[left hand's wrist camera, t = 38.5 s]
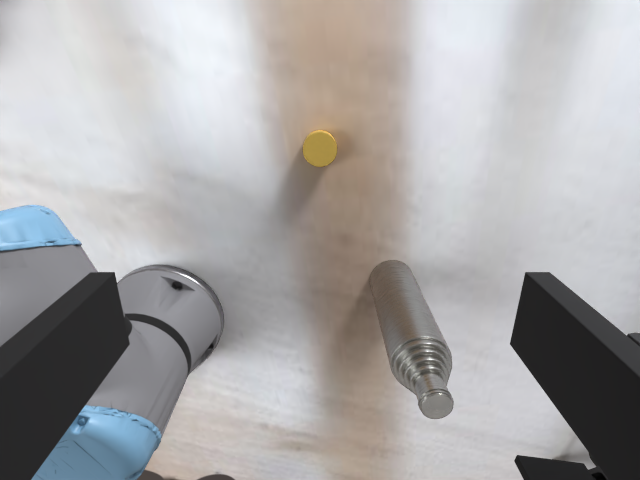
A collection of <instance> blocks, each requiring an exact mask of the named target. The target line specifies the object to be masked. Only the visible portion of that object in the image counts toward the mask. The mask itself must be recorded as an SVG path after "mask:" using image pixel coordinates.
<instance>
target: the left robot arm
mask: <svg viewBox="0 0 640 480" xmlns="http://www.w3.org/2000/svg"><path fill="white" fill-rule="evenodd" d="M81 245H82V244H81V242H80V241H79V240H77V239H75V238H74V237H73V235H72V234H71V233H70V231H69V230H68V229H67V227H66V226H65V225H64V223H63V222H62V221H61V219H60V218H59V217H58V215H57V214H56V213H55V212H53V211H52V210H50V209H49V208H46V207H44V206H39V205H26V206H21V207H16V208H12V209H7V210H3V211H0V480H137V479H138V477H139V476H140V475H141V474H142V472H143V471H144V469H145V467H146V465H147V464H148V462H149V460H150V458H151V456H152V454H153V452H154V451H155V450H156V449H157V448H158V446H159V444H160V442H161V438H162V436H163V433H164V431H165V429H166V426H167V424H168V421H169V419H170V417H171V414H172V412H173V410H174V407H175V405H176V403H177V400H178V398H179V396H180V393H181V391H182V389H183V386H184V384H185V381H186V379H187V377H188V375H189V374H190V373H191V372H192V371H193V370H194V369H195V368H196V367H197V366H198V367H199V366H200V365H201V364H202V363H203V362H204V361H205V360H206V359H207V358H208V357H209V355H210V354H211V353H212V351H213V350H214V349H215V347H216V345H217V344H218V341H219V339H220V336H221V334H222V331H223V326H224V315H223V310H222V307H221V304H220V302H219V300H218V298H217V296H216V295H215V293H214V292H213V290H212V289H211V288H210V287H209V286H208V285H207V284H206V283H205V282H204V281H202V280H201V279H200V278H198V277H197V276H195V275H193V274H192V273H190V272H188V271H185V270H183V269H180V268H176V267H172V266H165V265H153V266H146V267H142V268H139V269H136V270H134V271H132V272H130V273H129V274H127V275H126V276H125V277H123V278H122V279H121V280H120V281H119V282H118V283H117V282H116V277H115V272H97V270H96V269H95V267H94V266H93V264H92V262H91V261H90V259H89V258H88V256H87V255H86V253H85V252H84V250H83V249H82V247H81ZM510 345H511V346H512V347H513V349H514V350H515V352H516V353H517V354H518V356H519V357H520V358H521V360H522V361H523V363H524V364H525V365H526V367H527V368H528V369H529V371H530V372H531V373H532V375H533V376H534V378H535V379H536V380H537V382H538V383H539V384H540V386H541V387H542V389H543V390H544V391H545V393H546V394H547V395H548V397H549V398H550V400H551V401H552V402H553V404H554V405H555V406H556V408H557V409H558V411H559V412H560V413H561V415H562V416H563V417H564V419H565V420H566V422H567V423H568V424H569V426H570V427H571V428H572V430H573V431H574V432H575V434H576V435H577V437H578V438H579V439H580V441H581V442H582V443H583V445H584V446H585V448H586V449H587V450H588V452H589V453H590V454H591V456H592V457H593V459H594V460H595V461H596V463H597V464H598V465H599V467H600V468H601V470H602V471H603V472H604V474H605V475H606V476H607V478H608V479H609V480H640V346H638V345H637V344H636V343H635V342H633V341H632V340H631V339H630V338H629V337H627V336H626V335H625V334H624V333H623V332H621V331H620V330H619V329H618V328H616V327H615V326H614V325H613V324H612V323H610V322H609V321H608V320H607V319H606V318H604V317H603V316H602V315H601V314H599V313H598V312H597V311H596V310H595V309H593V308H592V307H591V306H590V305H589V304H587V303H586V302H585V301H584V300H582V299H581V298H580V297H579V296H578V295H576V294H575V293H574V292H573V291H572V290H570V289H569V288H568V287H567V286H565V285H564V284H563V283H562V282H561V281H559V280H558V279H557V278H556V277H555V276H553V275H552V274H551V273H550V272H525V277H524V282H523V286H522V291H521V296H520V300H519V305H518V309H517V314H516V319H515V323H514V328H513V333H512V337H511V342H510ZM198 367H197V368H198ZM197 368H196V369H197ZM196 369H195V370H196ZM195 370H194V371H195ZM194 371H193V372H194ZM193 372H192V373H193ZM192 373H191V374H192Z"/></svg>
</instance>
